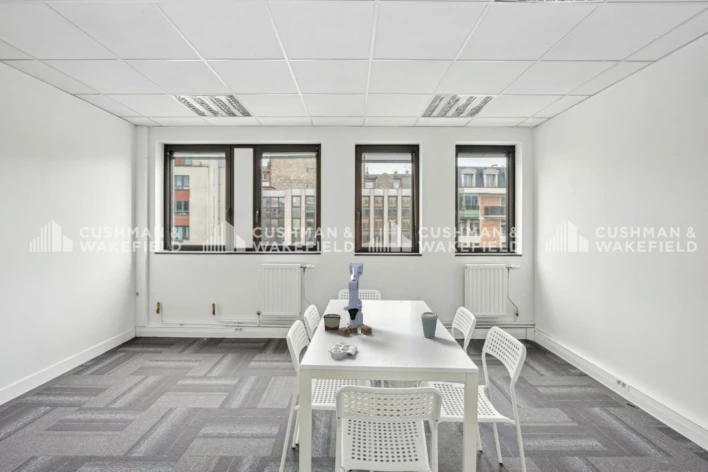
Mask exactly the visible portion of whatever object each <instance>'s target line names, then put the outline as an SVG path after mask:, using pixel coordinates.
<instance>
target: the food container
mask: <svg viewBox="0 0 708 472" xmlns="http://www.w3.org/2000/svg"><path fill="white" fill-rule="evenodd" d="M322 318H323V322H324V323H323V324H324V331H326V332H327V331H329V332H330V331H331V332H339V328H340V323H341V319H342V317H341V315H340V314H337V313H328V314H324V315H323V317H322Z"/></svg>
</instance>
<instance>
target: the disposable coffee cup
mask: <svg viewBox="0 0 708 472" xmlns="http://www.w3.org/2000/svg"><path fill="white" fill-rule="evenodd" d="M420 319H421V324H422V331H423V336H425V337H424V338H426V339H434V338H435V335H436V329H437V323H438V315H437V313H436V312H432V311H425V312H422V313H421V314H420Z"/></svg>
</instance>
